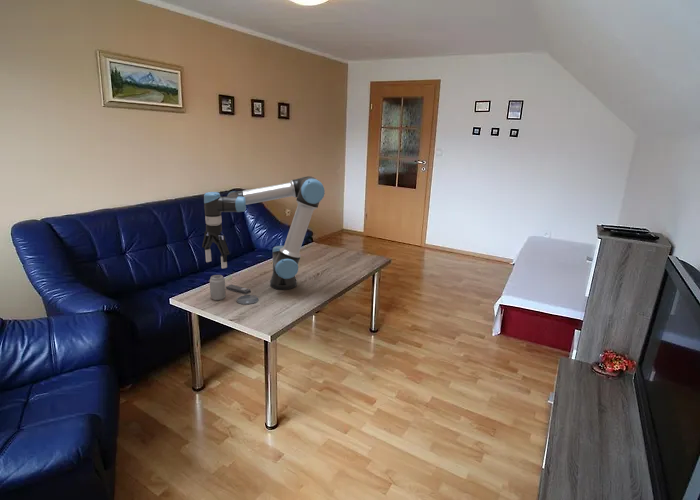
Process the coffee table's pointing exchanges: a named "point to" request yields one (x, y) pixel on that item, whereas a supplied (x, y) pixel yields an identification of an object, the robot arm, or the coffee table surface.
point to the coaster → (247, 299)
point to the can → (217, 287)
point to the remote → (238, 289)
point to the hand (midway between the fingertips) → (216, 264)
